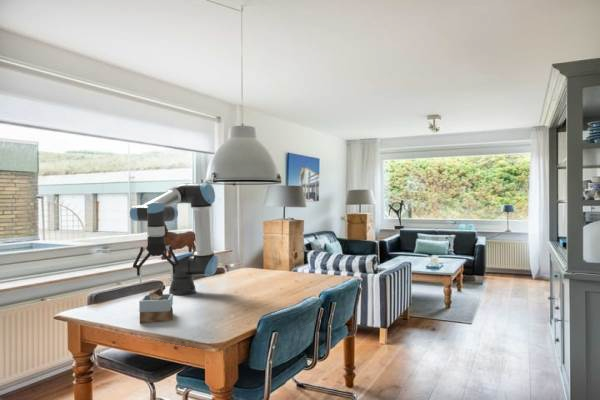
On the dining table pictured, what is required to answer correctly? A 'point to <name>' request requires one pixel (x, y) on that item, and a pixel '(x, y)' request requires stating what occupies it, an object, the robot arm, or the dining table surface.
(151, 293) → the rock
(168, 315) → the tower base
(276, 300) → the dining table surface
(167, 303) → the tower top
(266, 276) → the dining table surface
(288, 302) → the dining table surface
